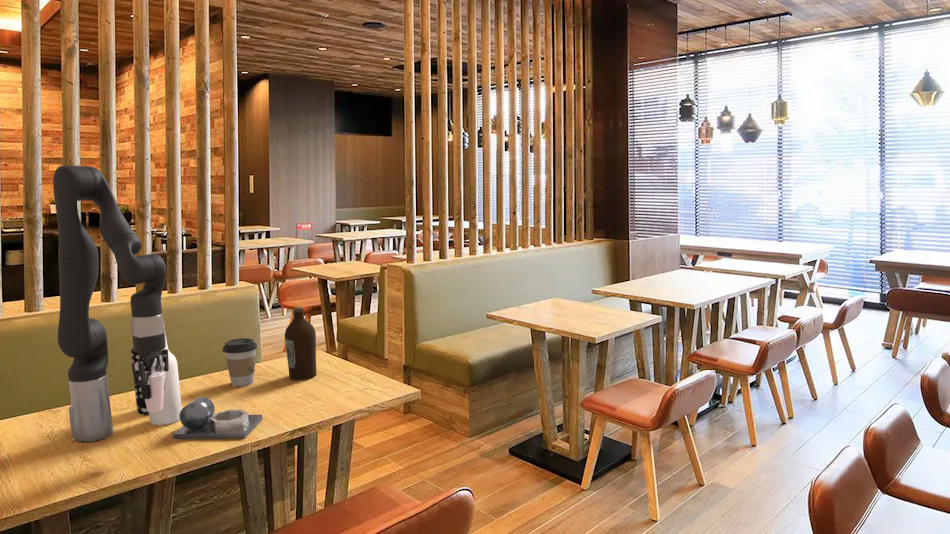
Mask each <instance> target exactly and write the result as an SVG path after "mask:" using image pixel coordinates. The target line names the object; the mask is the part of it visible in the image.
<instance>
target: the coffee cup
mask: <svg viewBox="0 0 950 534" xmlns="http://www.w3.org/2000/svg"><path fill="white" fill-rule="evenodd" d="M257 348H258V344H257V342H255V341H254V339H253V338H251V337H250V338H249V337H243V338H242V337H240V338H234V339H233V338H232V339H230V340H227V341H226V342H224V345H223V347H222V353H224V356H225V357H224V358H225V360H226V365H227V370H228V374H229V379H230V383H231V385H232V386H233V387H237V388H239V387H240V388H241V387H246V386H251V385H252V384H254V381H255V370H256V369H255V368H256V355H257V354H256V352H257V351H256V350H257Z"/></svg>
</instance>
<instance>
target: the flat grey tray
mask: <svg viewBox="0 0 950 534" xmlns="http://www.w3.org/2000/svg"><path fill="white" fill-rule="evenodd" d="M215 408H216V407H215V404H214V402H213V401H212V400H211V399H210V398H209V397H206V396H198V397H196V398H194V399H193V400H192V401H190V402H189V403H188V404H187V405H186V404H185V406H184V407H183V408H182V410H181V412H180V420H179V421H180V424H182V426H181V427H180V428H178V429H177V430H176V431H175V432H174V433H172V438H173V440H222V439H223V440H231V439H233V440H235V439H236V440H237V439H239V440H241V439H242V440H243V439H246V438H247V437H248V436H249V435H250V434H251V433H252V432H253V431H254V430H255V429H256V428H257V426H258V425H259V424H260V423H261V422H262V421H263V420H264V419H263V418H264V417H263V414H249V412H247V411H245V410H244V409H225V410H222V411H219V412H215V410H216V409H215Z"/></svg>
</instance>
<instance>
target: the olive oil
mask: <svg viewBox="0 0 950 534" xmlns="http://www.w3.org/2000/svg"><path fill="white" fill-rule="evenodd" d="M293 316H294V317H293V320H292V321H291V322H290V323H289V324H288V326H286V328H285V332H284V341H285V342H284V343H285V351H286V357H287V358H286V359H287V365H288V366H287V367H288V376H289V379H290V380H294V381H303V380H304V379H306V380H310V379H309V378H311V379H313V378H315V377H316V376H317V348H316V347H317V345H316V343H317V339H316V337H317V334H316V329H315V328H314V326H313V325H312V323H311V322H310V321H308V320H307V319H306V318H305V311H304V307H303V306H295V307H294V308H293ZM314 376H315V377H314ZM312 377H313V378H312ZM304 381H305V380H304Z"/></svg>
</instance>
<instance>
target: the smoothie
mask: <svg viewBox="0 0 950 534" xmlns="http://www.w3.org/2000/svg"><path fill="white" fill-rule="evenodd" d="M145 373H148V372H145ZM165 376H166V374H165V371H159V370H154V375H153V376H152V377H151V382H150V384H151V395H152V397H151V398H150V399H145V403H146V407H147V411H148V412H156V411H160V410H162V409H163V397H164V378H165ZM146 380H147V376H146Z"/></svg>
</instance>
